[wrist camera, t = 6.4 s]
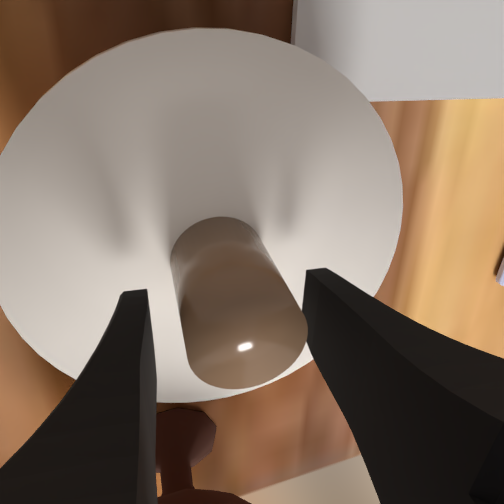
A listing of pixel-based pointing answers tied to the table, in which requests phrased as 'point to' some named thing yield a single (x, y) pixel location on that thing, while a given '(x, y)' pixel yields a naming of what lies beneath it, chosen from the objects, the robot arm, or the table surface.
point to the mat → (408, 45)
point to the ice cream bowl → (185, 457)
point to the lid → (194, 205)
